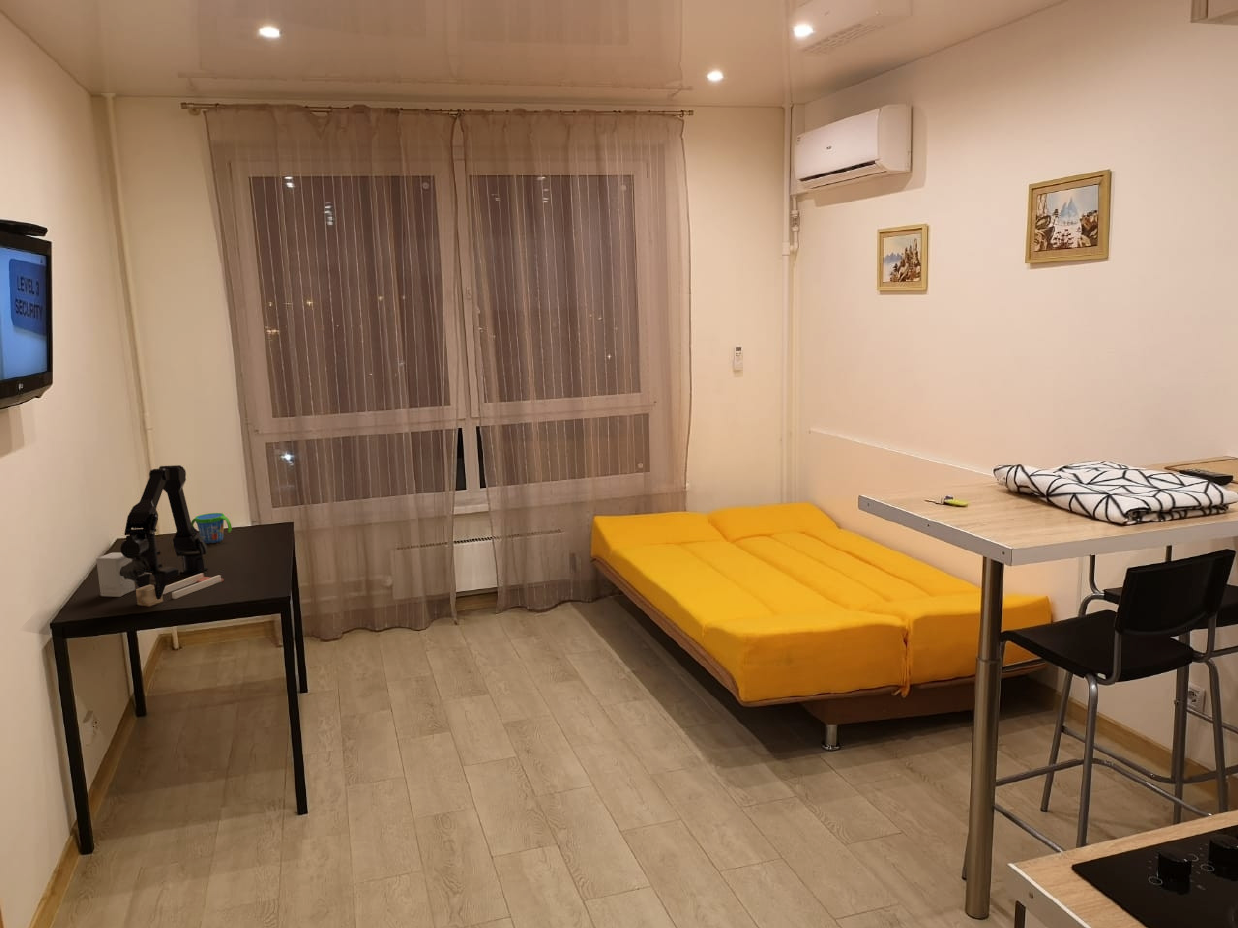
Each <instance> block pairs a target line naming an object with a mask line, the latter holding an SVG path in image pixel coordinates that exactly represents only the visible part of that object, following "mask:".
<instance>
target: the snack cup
mask: <svg viewBox="0 0 1238 928" xmlns="http://www.w3.org/2000/svg"><path fill="white" fill-rule="evenodd" d="M224 521H225V522H226V525H227V526H228V527H227V533H229V534H230V533H231V532H232V530H233V528H232V523H231V521H230V519H229V518H228V517H227V516H225V514H224V513H222V512H213V513H212V512H211V513H204V514H201V515H200V514H199V515H197V516H195V517H194V518H193V519H192V520H191V524H192V526H193V527H194V528H195V526H194V525H195V523H196V524H197V529H198V531H199V534H200V537H201V538H202V540H203V541H204V542H205V544H214V543H215V544H216V543H219V542H222V541H223V538H224V525H225V523H224Z"/></svg>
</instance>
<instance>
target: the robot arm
mask: <svg viewBox="0 0 1238 928" xmlns="http://www.w3.org/2000/svg"><path fill="white" fill-rule="evenodd" d="M186 475H187V474H186V469H185V468H184V466H183V465H182V466H181V465H177V464H176V465H160V466H159V467H158V468H153V469H150V470H149V473H148V476H149V477H148V479H147V482H146V484H145V488H144V490H143V493H142V495H141V497H140V500H139V501H138V503H136V504H135V505H133V506H132V508H131V509H130V512H129V513H128V515H127V518H126V523H125V529H124V533H123V534H124V536H125V540H124V541H123V542H122V543H121V545H120V548H119V550H120V553H122V555H123V556H124V557H126V558H129V559H132V562H130V563H128V564H127V565H125V566H122V567H121V569H120V576H123V577H124V579H131V580H133V581H134V582H135V584H136V585H137V587H138V588H141V587H144V586H147V585H150V583H152V585H154V588H155V594H156V597H157V599H161V596H162V597H163V595H164V594H163V591H164V589H165V586H167V585H168V581H169V580H171V579H173V578H176V577H179V576H180V574H186V575H197V574H200V573H202V572H204V571H207V570H208V569H209V568H208V567H205V559H204V555H206V554H207V552H208V546H207V543H205V542H204V541H203V540H202V538H201V536H200V533H199V530H197V529H196V528H195V526H194V527H193V526H192V524H191V522H192V520H191V517H190V513H189V509H188V505H187V500H186V497H185V493H184V489H183V488H184V486H185V483H186V481H187V479H186V478H187V477H186ZM163 491H164V492H165V493H167V494H166V495H167V498H168V502H169V506H170V508H171V509H170V510H171V513H172V517H173V520H174V526H175V529H176V533H175V535H174V537H173V539H172V543H173V548H174V550H175V551H174V552H175V554H176V556H177V557H181V560H182V569H183V570H181V571H179V569H178V568H177V567H175V566H165V567H163V564H162V563H159V556H160V555H161V551H160V550H158V549H157V539H156V532H157V531H158V530H157V528H156V527H157V525H158V521H159V514H158V512H157V511H158V510H157V507H158V504H159V502H160V499H161V496H162V493H163ZM151 576H153V577H154V578H152V579H151ZM162 594H163V595H162Z"/></svg>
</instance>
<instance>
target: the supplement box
mask: <svg viewBox="0 0 1238 928" xmlns="http://www.w3.org/2000/svg"><path fill="white" fill-rule="evenodd" d="M95 560H96V567H97V568H96V570H97V577H98V583H99V584H98V585H99V591H100V597H114V598H115V597H117V598H121V597H122V596H124V595H126V594H129V593H131V592H133V591H136V585H135V584H136V582H135V581H133V580H131V579H124V577H123V576H120V569H121V567H122V566H125V565H127V564H128V563H130V562H132V561H133V559H129V558H126V557H124V556H123V555H122V553H121V552H109V553H107V554H105V555H101V556H99V557H97V558H95Z"/></svg>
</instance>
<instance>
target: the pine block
mask: <svg viewBox="0 0 1238 928" xmlns="http://www.w3.org/2000/svg"><path fill="white" fill-rule="evenodd" d="M135 593H136V594H135V595H136V602H137V605H138V606H143V607H152V606H154V605H157V604H160V603H163V602H164V597H163V595H162V596H161V599H157V597H156V594H155V588H154V584H149V585H147V586H144V587H141V588H139V587H138V588H135Z"/></svg>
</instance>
